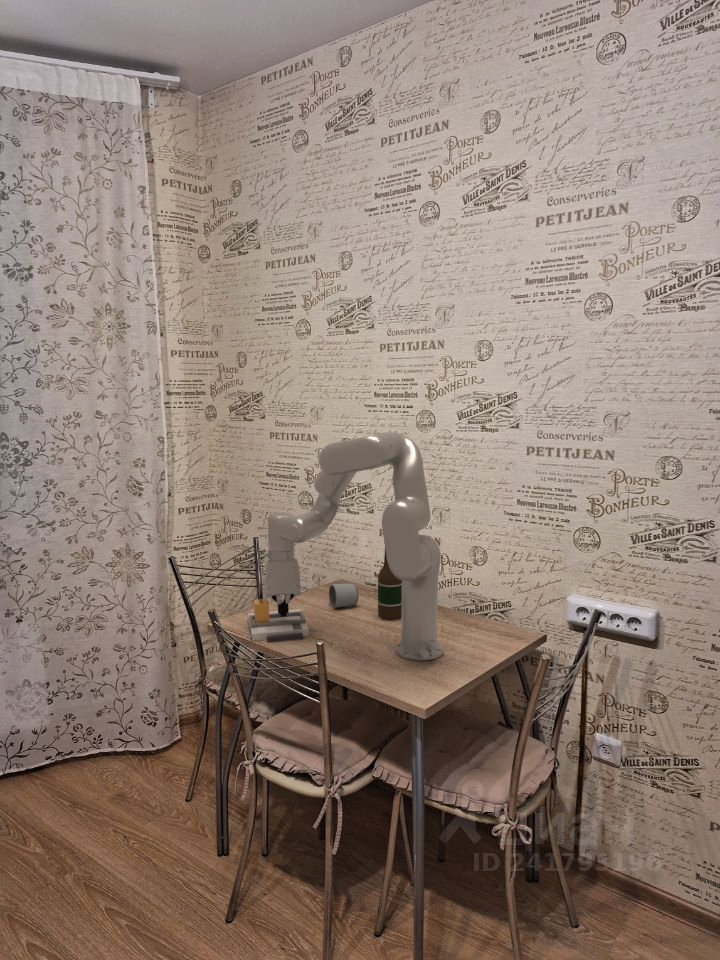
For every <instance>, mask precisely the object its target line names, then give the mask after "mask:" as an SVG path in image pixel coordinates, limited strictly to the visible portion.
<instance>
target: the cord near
mask: <svg viewBox="0 0 720 960" xmlns="http://www.w3.org/2000/svg"><path fill="white" fill-rule="evenodd" d="M303 639H304V636H303V634H302V633H294V634H283V635H272V636H267V640H266V642H267V643H277V642H279V643H280V642H287V641H301V640H303Z"/></svg>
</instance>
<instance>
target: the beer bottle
mask: <svg viewBox="0 0 720 960" xmlns="http://www.w3.org/2000/svg"><path fill="white" fill-rule="evenodd" d="M383 544H384V545H385V543H384V542H383ZM383 557H384V558H383V560H384V561H383V566H382V568H381V569H380V570H379V572H378V575H377V615H378V617H379V616H380V617H379V618H380V619H381V618H382V619H381V620H384V619H387V620H386V621H395V620H394V619H398V620H399V618H400V619H402V580H400V579H398V578H397V577H395V576H394V575H393V573H392V572H391V570H390V568H389V565H388V562H387V556H386V550H385V549H384V556H383Z"/></svg>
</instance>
